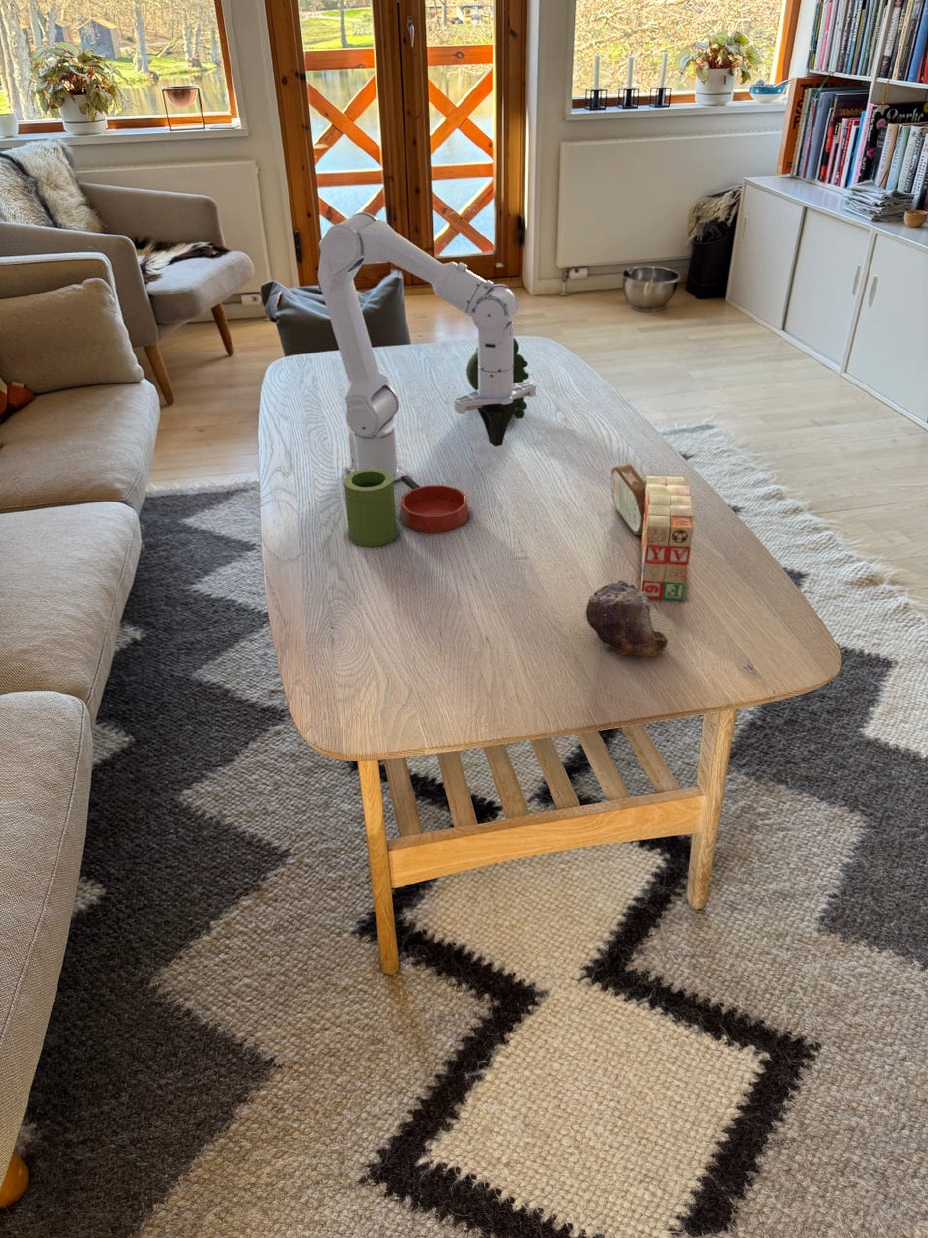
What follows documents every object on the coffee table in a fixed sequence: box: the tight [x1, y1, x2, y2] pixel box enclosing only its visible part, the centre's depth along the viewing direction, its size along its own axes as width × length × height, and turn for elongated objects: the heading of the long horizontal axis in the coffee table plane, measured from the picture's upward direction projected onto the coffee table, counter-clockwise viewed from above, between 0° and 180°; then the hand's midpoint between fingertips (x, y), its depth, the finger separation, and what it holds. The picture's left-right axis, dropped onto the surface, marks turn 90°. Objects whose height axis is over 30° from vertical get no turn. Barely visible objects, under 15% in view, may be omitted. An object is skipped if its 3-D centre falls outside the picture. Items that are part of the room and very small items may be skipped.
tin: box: [610, 462, 646, 536], centre depth 153 cm, size 15×3×8 cm, turn 12°
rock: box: [585, 580, 669, 657], centre depth 126 cm, size 12×9×10 cm
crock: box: [343, 468, 398, 547], centre depth 152 cm, size 8×8×10 cm
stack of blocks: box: [640, 475, 695, 601], centre depth 142 cm, size 21×6×12 cm, turn 171°
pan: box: [400, 475, 468, 533], centre depth 160 cm, size 17×11×3 cm, turn 30°
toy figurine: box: [465, 336, 530, 420], centre depth 191 cm, size 9×19×25 cm
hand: (495, 443), depth 160 cm, fingers closed
